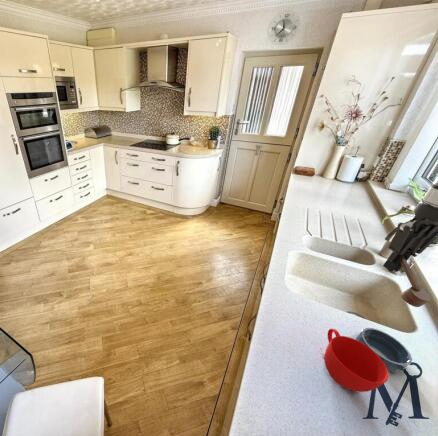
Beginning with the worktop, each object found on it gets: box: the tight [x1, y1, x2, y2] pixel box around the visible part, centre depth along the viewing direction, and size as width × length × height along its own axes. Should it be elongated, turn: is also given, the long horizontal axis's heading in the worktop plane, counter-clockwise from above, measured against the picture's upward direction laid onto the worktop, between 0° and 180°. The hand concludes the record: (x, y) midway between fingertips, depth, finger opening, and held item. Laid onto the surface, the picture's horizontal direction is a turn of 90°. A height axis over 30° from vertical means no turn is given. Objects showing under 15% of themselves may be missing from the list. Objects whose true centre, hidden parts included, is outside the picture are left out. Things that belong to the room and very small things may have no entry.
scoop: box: [400, 257, 432, 308], centre depth 72 cm, size 16×5×8 cm, turn 1°
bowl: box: [355, 327, 413, 373], centre depth 75 cm, size 12×12×4 cm
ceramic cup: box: [323, 328, 389, 393], centre depth 69 cm, size 13×17×10 cm
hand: (390, 268), depth 76 cm, fingers closed on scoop
